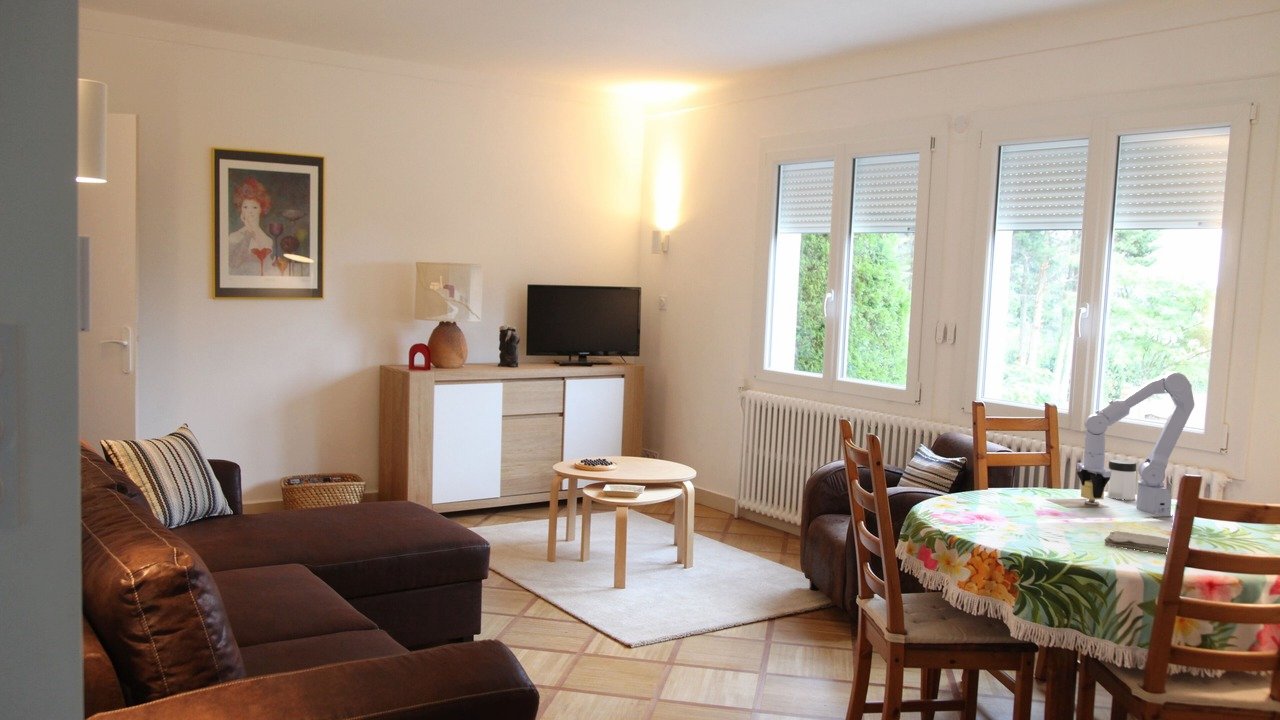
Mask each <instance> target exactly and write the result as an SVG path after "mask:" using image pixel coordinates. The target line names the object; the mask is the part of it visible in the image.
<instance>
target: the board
mask: <svg viewBox="0 0 1280 720" xmlns="http://www.w3.org/2000/svg"><path fill="white" fill-rule="evenodd" d="M1045 500H1046V501H1049V502H1050V503H1053V504H1057V505H1058V506H1060V507H1061V506H1062V507H1065V508H1068V509H1083V508H1085V509H1087V508H1088V509H1089V508H1091V509H1093V508H1109V506H1107V505H1104V504H1101V503H1099V505H1097V506H1094V505H1087V504H1085V500H1089V499H1087V498H1068V499H1067V498H1063V499H1062V498H1060V499H1059V498H1058V499H1057V498H1056V499H1055V498H1054V499H1048V498H1047V499H1045Z"/></svg>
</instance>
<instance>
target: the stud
mask: <svg viewBox="0 0 1280 720" xmlns="http://www.w3.org/2000/svg"><path fill="white" fill-rule="evenodd" d="M1085 504H1087V505H1094V506H1097V505H1099V504H1100V502H1099V501H1098V500H1096V499H1092V500H1090V499H1088V500H1085Z"/></svg>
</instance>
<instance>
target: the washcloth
mask: <svg viewBox="0 0 1280 720" xmlns="http://www.w3.org/2000/svg"><path fill="white" fill-rule="evenodd" d="M1169 539H1170V538H1165V537H1160V536H1156V535H1149V534H1141V533H1133V532H1127V531H1121V530H1114V531H1111V532H1109V535H1107V536H1106V537H1105V539H1104V545H1105V546H1108V545H1110V546H1109V547H1112V546H1116V547H1115V548H1119V547H1123V548H1127V549H1126V550H1129V549H1132V550H1131V551H1136V550H1139V551H1138V552H1143V551H1148V552H1147V553H1149V552H1153V553H1152V554H1156V553H1159V554H1158V555H1163V554H1164V555H1163V556H1167V555H1166V552H1167V548H1168V543H1169ZM1123 548H1122V549H1123ZM1134 549H1135V550H1134Z"/></svg>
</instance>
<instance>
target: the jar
mask: <svg viewBox="0 0 1280 720" xmlns="http://www.w3.org/2000/svg"><path fill="white" fill-rule="evenodd" d="M1107 470H1109V471H1111V477H1110V480H1109V481H1108V482H1107V489H1106V491H1107V493H1108V494H1107V493H1106V495H1107V497H1108V498H1109V497H1111V498H1110V499H1113V498H1117V499H1116V500H1119V499H1125V500H1124V501H1135V500H1136V489H1137V488H1136V487H1137V462H1135V461H1131V460H1125V459H1110V460H1109V461H1108V468H1107Z"/></svg>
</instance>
